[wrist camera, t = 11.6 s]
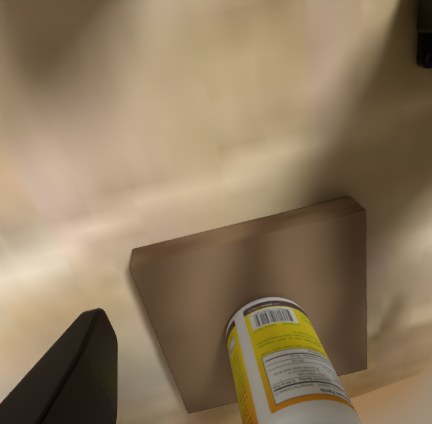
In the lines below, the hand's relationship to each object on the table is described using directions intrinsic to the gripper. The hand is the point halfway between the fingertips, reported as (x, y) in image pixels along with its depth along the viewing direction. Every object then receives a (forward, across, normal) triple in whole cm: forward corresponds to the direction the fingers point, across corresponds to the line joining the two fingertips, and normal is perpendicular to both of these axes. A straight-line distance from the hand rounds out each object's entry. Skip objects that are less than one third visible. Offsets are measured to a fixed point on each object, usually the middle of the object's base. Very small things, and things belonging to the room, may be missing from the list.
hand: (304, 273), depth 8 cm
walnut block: (+13, 0, +13) cm, 18 cm away
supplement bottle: (+11, 0, +13) cm, 17 cm away
